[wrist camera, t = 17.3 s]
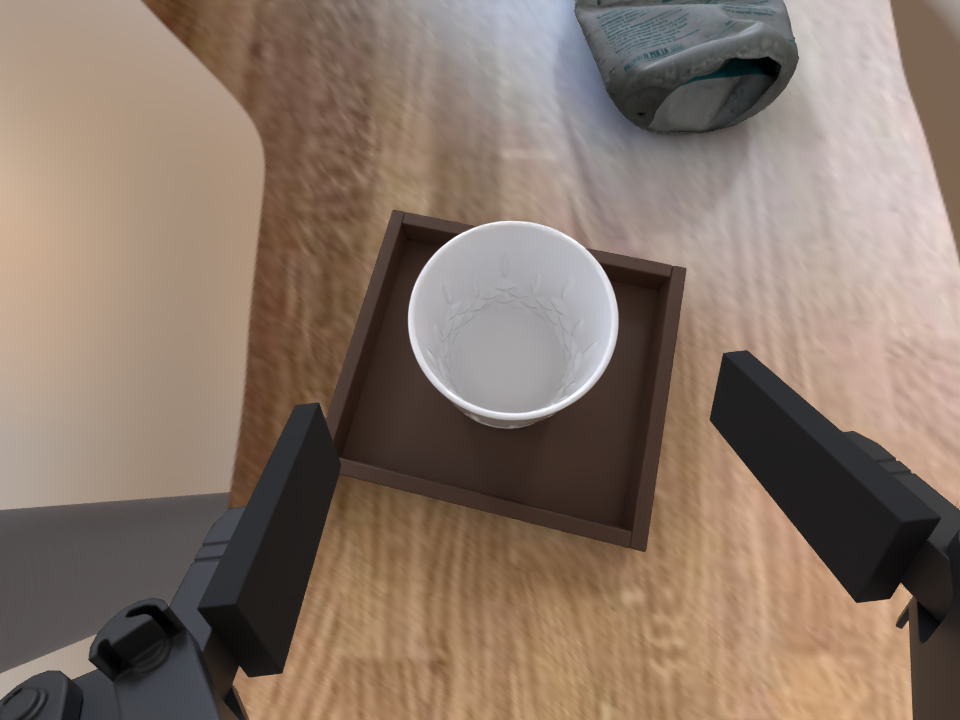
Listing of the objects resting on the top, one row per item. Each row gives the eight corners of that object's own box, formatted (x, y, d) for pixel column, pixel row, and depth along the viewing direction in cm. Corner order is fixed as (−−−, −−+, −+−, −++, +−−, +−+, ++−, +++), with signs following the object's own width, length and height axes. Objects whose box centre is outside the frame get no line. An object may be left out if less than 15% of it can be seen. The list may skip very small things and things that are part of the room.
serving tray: (327, 467, 26) (310, 466, 24) (400, 230, 30) (392, 208, 27) (631, 544, 24) (646, 552, 22) (670, 285, 28) (687, 267, 26)
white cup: (425, 327, 27) (387, 248, 18) (549, 295, 28) (580, 198, 18) (457, 455, 25) (435, 445, 16) (590, 419, 26) (649, 386, 16)
